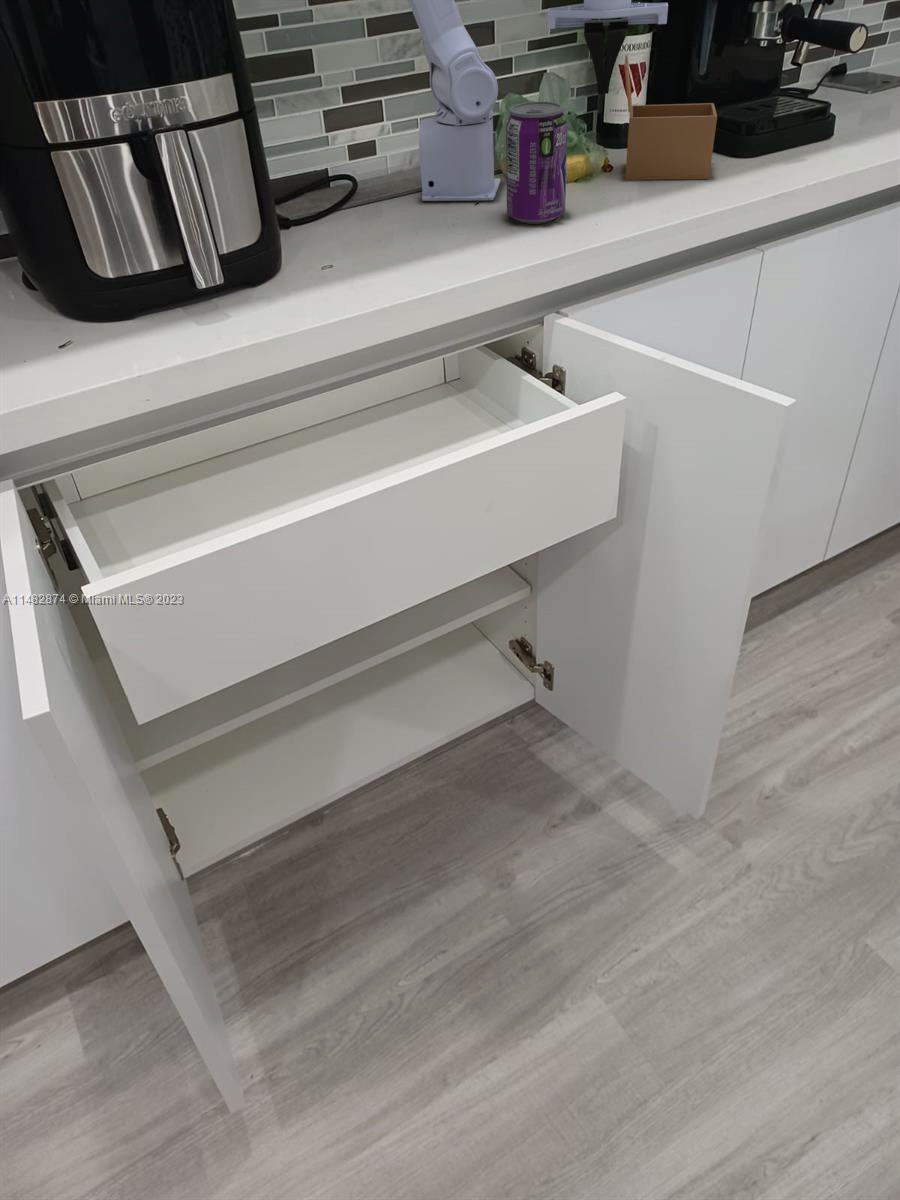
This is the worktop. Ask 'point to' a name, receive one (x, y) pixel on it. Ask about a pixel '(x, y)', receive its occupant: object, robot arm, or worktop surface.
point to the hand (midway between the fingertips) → (603, 92)
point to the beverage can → (536, 161)
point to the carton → (670, 141)
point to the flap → (628, 83)
